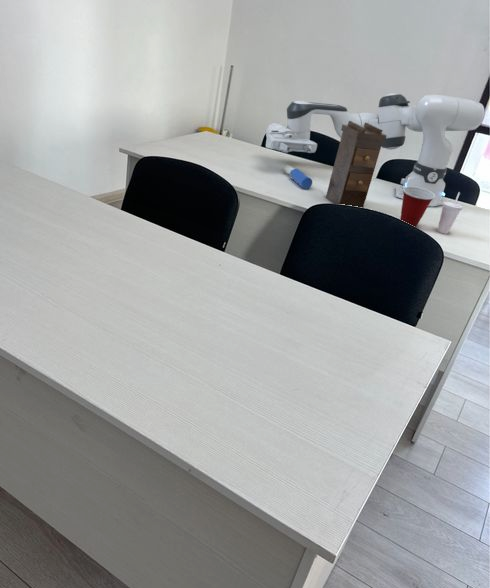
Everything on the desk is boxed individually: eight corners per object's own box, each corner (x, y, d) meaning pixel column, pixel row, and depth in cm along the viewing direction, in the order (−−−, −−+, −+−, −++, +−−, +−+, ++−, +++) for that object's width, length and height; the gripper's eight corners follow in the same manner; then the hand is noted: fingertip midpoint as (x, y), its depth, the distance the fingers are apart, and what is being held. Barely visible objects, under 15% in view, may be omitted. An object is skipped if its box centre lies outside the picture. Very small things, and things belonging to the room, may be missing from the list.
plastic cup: (391, 225, 199) (402, 191, 193) (393, 216, 208) (403, 183, 202) (423, 233, 197) (436, 198, 190) (423, 224, 206) (435, 191, 199)
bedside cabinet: (324, 196, 218) (343, 119, 203) (349, 198, 221) (371, 122, 206) (340, 209, 206) (362, 129, 192) (367, 211, 210) (390, 132, 195)
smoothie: (453, 236, 198) (469, 196, 191) (434, 232, 199) (449, 192, 192) (450, 230, 204) (465, 191, 197) (432, 226, 205) (446, 187, 197)
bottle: (281, 172, 238) (284, 162, 236) (290, 174, 239) (294, 163, 237) (300, 188, 222) (303, 176, 220) (310, 190, 223) (313, 178, 221)
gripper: (307, 150, 243) (320, 159, 231) (261, 146, 237) (273, 155, 226) (310, 135, 239) (324, 143, 228) (264, 130, 233) (277, 139, 222)
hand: (299, 149), depth 227 cm, fingers open, 8 cm apart
